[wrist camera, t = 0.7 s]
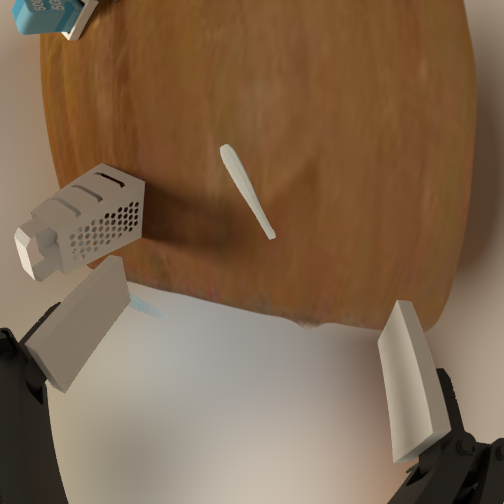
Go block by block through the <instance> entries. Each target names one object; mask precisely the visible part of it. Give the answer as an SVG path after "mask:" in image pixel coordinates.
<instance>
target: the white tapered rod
mask: <svg viewBox="0 0 504 504" xmlns="http://www.w3.org/2000/svg"><path fill="white" fill-rule="evenodd" d="M220 152H221V157H222V160H223V162H224V164H225V166H226V168H227V170H228V171H229V173H230V175H231V177H232V178H233V180H234V182H235V184H236V185H237V187H238V189H239V190H240V192H241V194H242V195H243V197H244V198H245V199H246V201H247V203H248V204H249V206H250V207H251V209H252V210H253V212H254V214H255V216H256V217H257V219H258V221H259V222H260V224H261V226H262V227H263V229H264V231H265V233H266V234H267V236H268V238H269V239H273V238H276V235H275V233H274V231H273V229H272V227H271V226H270V224H269V222H268V220H267V218H266V216H265V214H264V212H263V209H262V207H261V205H260V203H259V200H258V198H257V196H256V193H255V191H254V188H253V186H252V183H251V181H250V179H249V177H248V175H247V173H246V171H245V169H244V167H243V165H242V163H241V161H240V159H239V157H238V155H237V153H236V152H235V150H234V149H233V148H232V147H231V146H230V145H229V144H226V145H224V146H222V147H221V148H220Z"/></svg>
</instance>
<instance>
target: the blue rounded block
mask: <svg viewBox="0 0 504 504" xmlns="http://www.w3.org/2000/svg"><path fill="white" fill-rule="evenodd" d="M82 9H83V6H82V4H81V3H80V1H79V0H16V2H15V4H14V7H13V9H12V13H13V16H14V19H15V22H16V25H17V28H18V31H19V33H21V34H24V35H29V34H40V33H52V32H71V30H72V28H73V26H74V24H75V22H76V20H77V18H78V16H79V15H80V13H81V11H82Z"/></svg>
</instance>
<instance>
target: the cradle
mask: <svg viewBox="0 0 504 504" xmlns="http://www.w3.org/2000/svg"><path fill="white" fill-rule="evenodd" d="M81 1H83V2H84V3H85V6H84V7H83V9H82V11H81V13H80V15H79V16H78V18H77V20H76V22H75V24H74V26H73V28H72V30H71V32H61V33H62V34H63V35H64V36H65V37H66V38H67V39H68V40H78V39H79V37H80V35H81V33H82V31H83V29H84V27H85V25H86V23H87V21H88V19H89V18H90V16H91V14H92V12H93V11H94V9H95V7H96V6H97V4H98V1H97V0H81Z"/></svg>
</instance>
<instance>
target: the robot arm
mask: <svg viewBox="0 0 504 504" xmlns="http://www.w3.org/2000/svg"><path fill="white" fill-rule="evenodd" d="M130 301H131V299H130V295H129V291H128V286H127V282H126V277H125V272H124V267H123V262H122V257H117V256H112V255H109V256H108V257H107V258H106V259H105V260H104V261H103V262H102V263H101V264H100V265H99V266H98V267H96V268H95V269H94V270H93V271H92V272H91V274H89V275H88V276H87V277H86V278H85V279H84V280H83V281H82V282H81V283H80V284H79V285H78V286H77V287H76V288H75V289H74V290H73V291H72V292H71V293H70V294H69V295H68V296H67V297H66V298H65V300H64V301H63V302H62V303H61V302H58V303H57V304H55V305H53V306H52V307H50V308H49V309H48V311H46V313H45V314H44V316H42V317H41V318H40V319H39V320H38V322H36V324H35V325H34V326H33V327H32V328H31V329H30V330H29V332H27V334H26V335H25V336H24V337H23V338H22V339H21V341H20V342H19V343H18V342H17V341H16V339H15V337H14V335H13V334H12V332H11V330H10V329H8V328H0V504H68V500H67V497H66V494H65V491H64V487H63V483H62V480H61V476H60V472H59V468H58V463H57V459H56V454H55V449H54V443H53V438H52V431H51V424H50V417H49V408H48V398H47V387H46V384H45V381H46V380H47V379H48V380H49V382H50V383H51V385H52V386H53V387H55V388H56V389H58V390H59V391H61V392H63V393H66V391H67V390H68V388H69V387H70V385H71V383H72V382H73V380H74V379H75V377H76V376H77V374H78V373H79V371H80V370H81V369H82V367H83V366H84V364H85V363H86V361H87V360H88V358H89V357H90V356H91V354H92V353H93V351H94V350H95V348H96V347H97V346H98V344H99V343H100V341H101V340H102V339H103V337H104V336H105V335H106V333H107V332H108V330H109V329H110V327H111V326H112V325H113V323H114V322H115V321H116V320H117V318H118V317H119V316H120V314H121V313H122V312H123V310H124V309H125V308H126V306H127V305H128V304H129V302H130ZM378 347H379V352H380V357H381V363H382V368H383V375H384V380H385V387H386V394H387V401H388V409H389V417H390V426H391V436H392V449H393V463H402V462H409V461H412V460H413V459H415V458H416V457H417V456H419V462H418V463H417V464H415V465H414V466H412V467H411V468H409V469H408V470H407V471H406V473H409V472H410V471H412V472H411V473H410V474H409V476H408V477H407V479H406V480H405V481H404V483H403V484H402V485H401V487H400V488H399V489H398V491H397V492H396V493H395V495H394V496H393V497H392V498H391V500H390V501H389V502H388V503H387V504H503V502H504V438H499V439H497V440H496V441H494V442H493V443H492V444H486V443H479V442H476V440H475V438H474V437H473V436H472V435H471V434H470V433H467V432H465V430H464V427H463V423H462V419H461V415H460V411H459V407H458V403H457V400H456V399H455V393H454V391H453V386H452V383H451V379H450V377H449V376H448V374H447V373H446V372H445V370H444V369H443V368H438V369H435V366H434V362H433V359H432V356H431V353H430V350H429V347H428V344H427V341H426V338H425V336H424V333H423V330H422V327H421V325H420V322H419V319H418V317H417V314H416V312H415V309H414V307H413V304H412V302H411V301H403V300H397V302H396V304H395V306H394V308H393V311H392V313H391V315H390V317H389V319H388V322H387V324H386V326H385V328H384V330H383V332H382V334H381V336H380V338H379V340H378ZM476 485H477V486H476Z"/></svg>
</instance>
